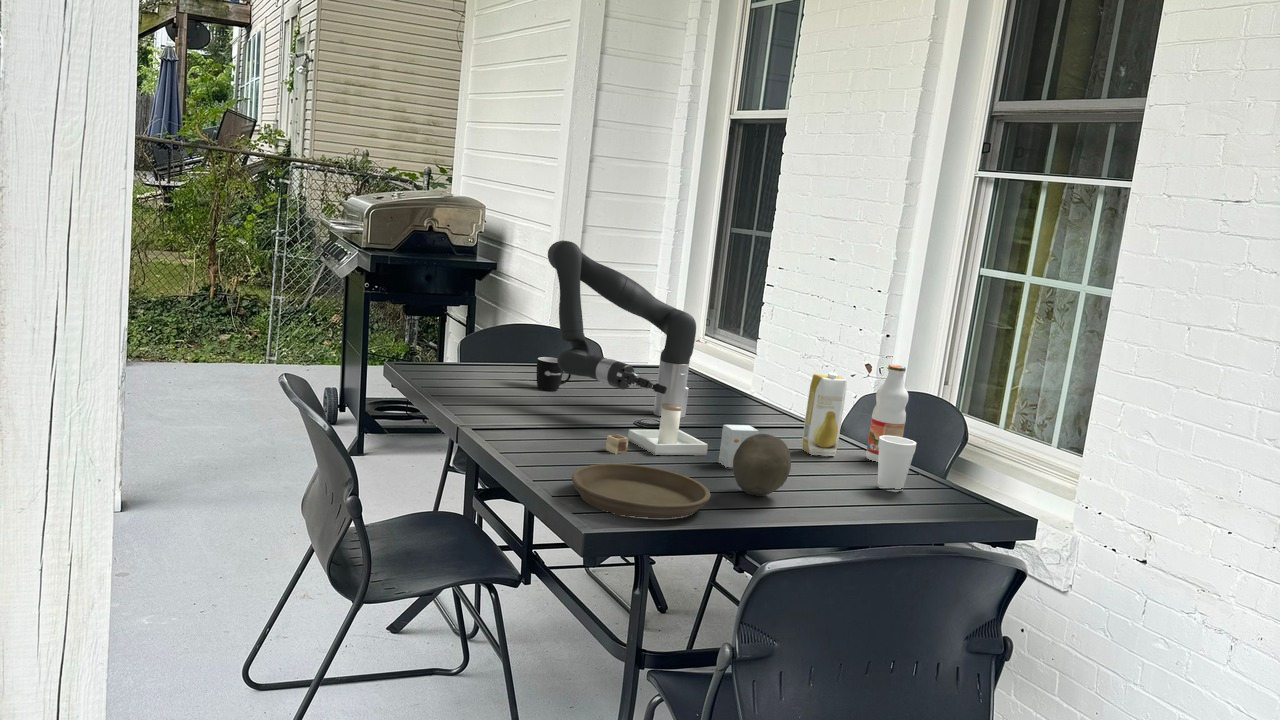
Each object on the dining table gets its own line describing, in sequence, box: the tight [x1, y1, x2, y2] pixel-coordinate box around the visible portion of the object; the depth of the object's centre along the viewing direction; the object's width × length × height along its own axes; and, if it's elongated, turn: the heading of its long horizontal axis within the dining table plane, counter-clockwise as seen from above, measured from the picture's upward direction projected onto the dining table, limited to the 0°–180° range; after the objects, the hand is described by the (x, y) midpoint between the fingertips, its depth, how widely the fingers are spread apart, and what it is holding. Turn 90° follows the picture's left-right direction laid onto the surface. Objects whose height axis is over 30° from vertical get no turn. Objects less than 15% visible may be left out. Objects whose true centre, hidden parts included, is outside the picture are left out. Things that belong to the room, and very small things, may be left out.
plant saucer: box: [571, 463, 711, 518], centre depth 227 cm, size 31×31×5 cm
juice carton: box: [801, 372, 847, 457], centre depth 292 cm, size 9×8×24 cm
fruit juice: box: [865, 364, 909, 463], centre depth 293 cm, size 9×9×28 cm
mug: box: [536, 356, 572, 392], centre depth 339 cm, size 12×9×10 cm
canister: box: [658, 403, 682, 444], centre depth 278 cm, size 5×5×11 cm
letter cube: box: [605, 434, 629, 455], centre depth 268 cm, size 4×4×4 cm
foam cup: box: [877, 436, 917, 489], centre depth 264 cm, size 10×9×13 cm
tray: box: [627, 429, 709, 456], centre depth 279 cm, size 16×16×3 cm
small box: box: [718, 424, 760, 468], centre depth 268 cm, size 8×6×10 cm
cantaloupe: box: [732, 433, 792, 497], centre depth 241 cm, size 14×14×15 cm
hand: (657, 387), depth 289 cm, fingers open, 8 cm apart
